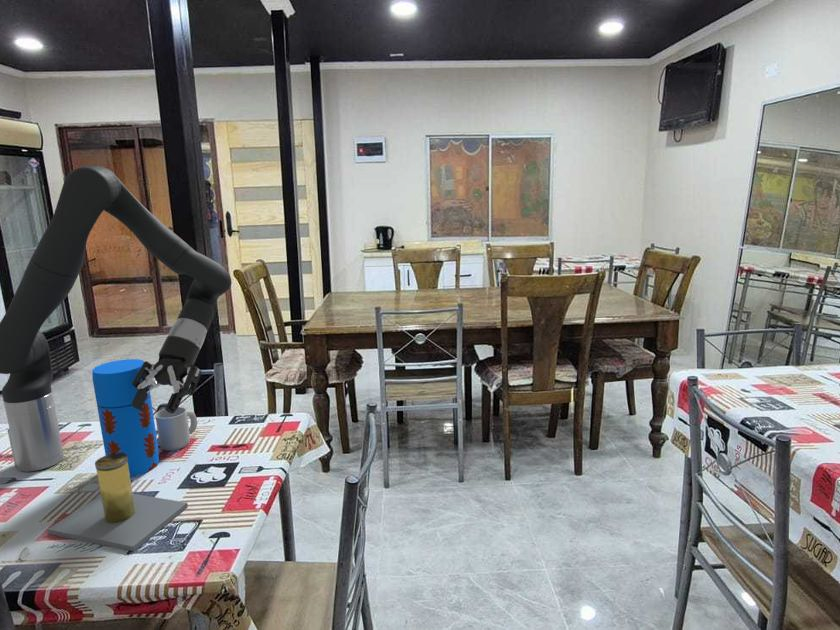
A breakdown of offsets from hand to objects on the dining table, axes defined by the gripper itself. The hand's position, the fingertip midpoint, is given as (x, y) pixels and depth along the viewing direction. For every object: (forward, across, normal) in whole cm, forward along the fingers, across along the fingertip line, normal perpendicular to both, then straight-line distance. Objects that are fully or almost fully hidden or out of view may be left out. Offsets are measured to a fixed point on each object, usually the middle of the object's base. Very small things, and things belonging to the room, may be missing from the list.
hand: (152, 410), depth 109 cm
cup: (0, -12, +27) cm, 29 cm away
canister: (+20, 0, +4) cm, 21 cm away
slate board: (+21, 0, +5) cm, 22 cm away
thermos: (+9, -14, +18) cm, 24 cm away
